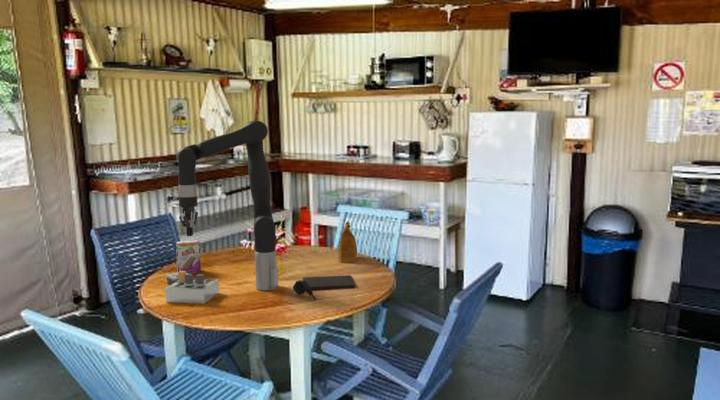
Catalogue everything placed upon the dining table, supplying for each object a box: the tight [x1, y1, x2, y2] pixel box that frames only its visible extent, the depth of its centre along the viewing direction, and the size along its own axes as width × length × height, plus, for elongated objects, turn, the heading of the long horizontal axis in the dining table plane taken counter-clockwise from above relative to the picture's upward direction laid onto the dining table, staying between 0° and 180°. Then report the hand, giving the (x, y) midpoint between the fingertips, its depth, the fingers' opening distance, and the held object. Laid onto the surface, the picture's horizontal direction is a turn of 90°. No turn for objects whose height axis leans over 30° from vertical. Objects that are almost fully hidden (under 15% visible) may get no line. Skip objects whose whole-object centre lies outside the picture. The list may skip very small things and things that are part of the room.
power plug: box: [292, 279, 317, 301], centre depth 233 cm, size 6×8×12 cm
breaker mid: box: [184, 273, 195, 286], centre depth 230 cm, size 3×4×4 cm
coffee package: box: [337, 221, 358, 264], centre depth 288 cm, size 10×12×22 cm
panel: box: [164, 278, 220, 305], centre depth 234 cm, size 17×15×6 cm
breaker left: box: [195, 273, 206, 287], centre depth 229 cm, size 3×4×4 cm
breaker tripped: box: [177, 271, 186, 283], centre depth 235 cm, size 3×4×4 cm
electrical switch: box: [164, 272, 189, 285], centre depth 256 cm, size 9×5×9 cm
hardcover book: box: [302, 275, 356, 292], centre depth 251 cm, size 16×23×2 cm
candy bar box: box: [175, 239, 202, 274], centre depth 271 cm, size 11×5×16 cm, turn 111°
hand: (190, 235), depth 231 cm, fingers closed
